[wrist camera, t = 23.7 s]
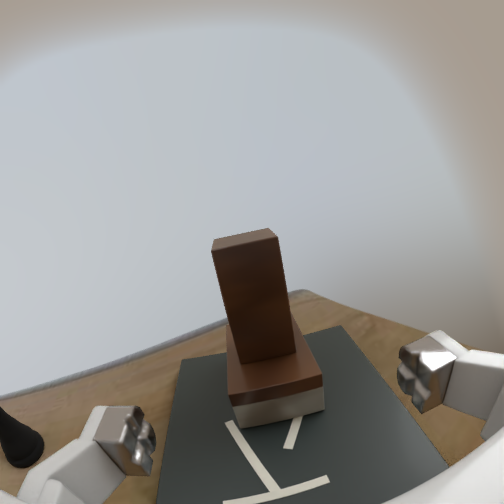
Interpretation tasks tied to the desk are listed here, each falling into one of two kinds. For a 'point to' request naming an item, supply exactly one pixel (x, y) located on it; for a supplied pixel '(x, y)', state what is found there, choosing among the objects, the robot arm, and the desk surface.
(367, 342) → the desk surface
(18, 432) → the chess piece
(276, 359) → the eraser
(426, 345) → the robot arm
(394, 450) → the chalkboard
